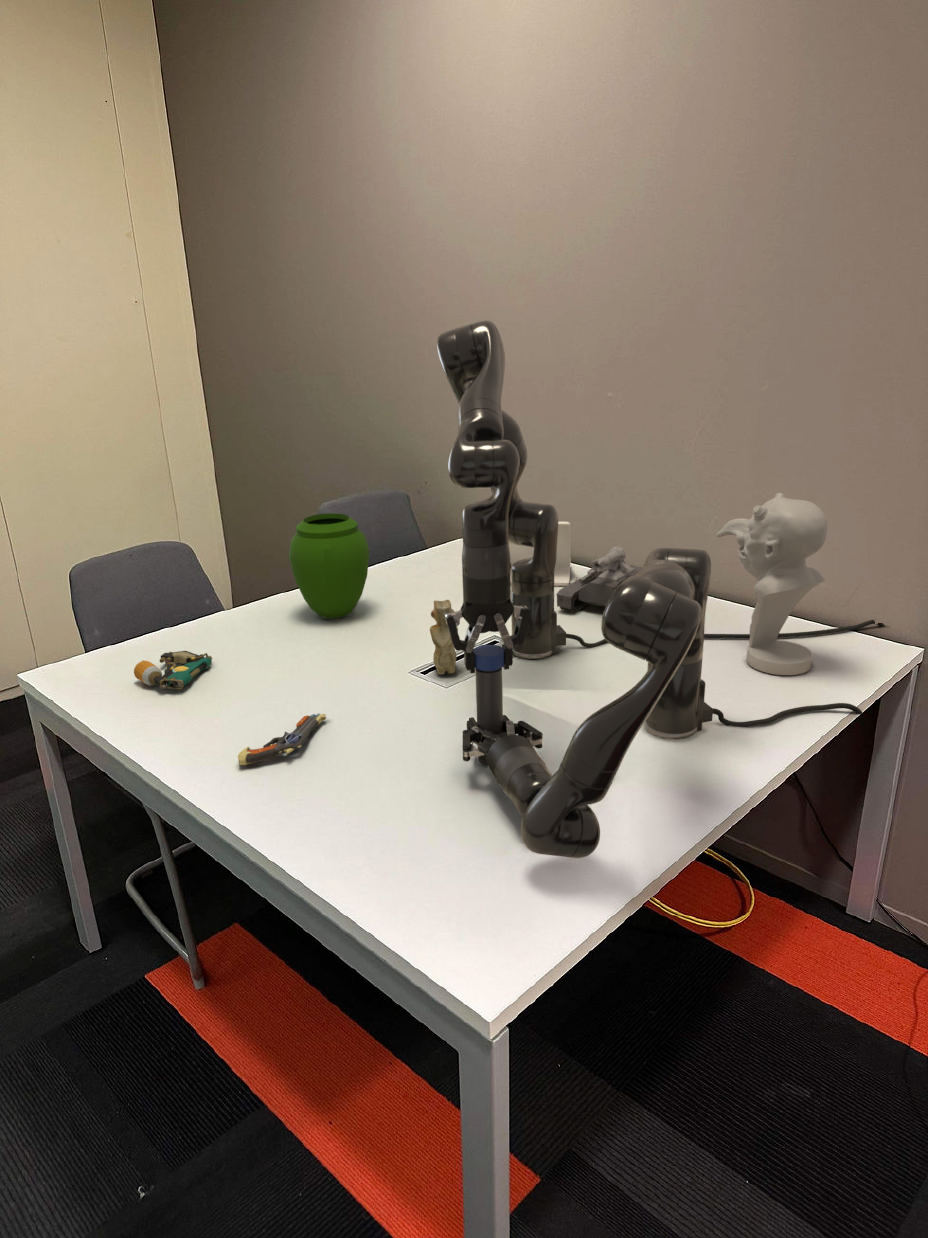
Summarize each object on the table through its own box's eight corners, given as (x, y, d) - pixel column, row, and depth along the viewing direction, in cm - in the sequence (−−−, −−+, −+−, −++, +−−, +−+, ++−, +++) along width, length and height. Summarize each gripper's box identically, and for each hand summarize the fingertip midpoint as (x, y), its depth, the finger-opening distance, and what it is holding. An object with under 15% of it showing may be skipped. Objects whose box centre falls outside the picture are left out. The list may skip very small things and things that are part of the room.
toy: (603, 584, 229) (605, 530, 224) (673, 597, 218) (677, 540, 213) (555, 612, 210) (556, 553, 205) (630, 627, 199) (633, 566, 194)
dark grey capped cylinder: (490, 750, 147) (488, 647, 141) (508, 759, 144) (507, 655, 138) (472, 760, 145) (469, 655, 138) (490, 769, 142) (488, 662, 135)
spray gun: (177, 659, 191) (231, 671, 185) (120, 684, 176) (176, 698, 171) (176, 641, 190) (230, 653, 184) (118, 665, 175) (174, 678, 169)
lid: (507, 659, 140) (507, 646, 139) (499, 672, 135) (499, 658, 134) (478, 657, 141) (477, 643, 140) (469, 669, 137) (468, 655, 136)
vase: (389, 608, 216) (383, 514, 208) (339, 633, 201) (330, 533, 192) (330, 596, 226) (322, 506, 218) (278, 619, 211) (267, 523, 202)
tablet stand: (569, 585, 229) (570, 524, 223) (476, 584, 232) (475, 523, 226) (570, 566, 246) (571, 508, 240) (484, 564, 249) (483, 507, 243)
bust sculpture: (745, 630, 196) (760, 478, 183) (832, 666, 176) (855, 499, 163) (692, 644, 189) (703, 487, 176) (776, 683, 169) (796, 510, 156)
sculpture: (458, 662, 183) (456, 596, 178) (460, 676, 176) (457, 608, 171) (431, 663, 183) (428, 597, 177) (431, 677, 176) (428, 609, 171)
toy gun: (232, 755, 143) (287, 753, 141) (276, 711, 161) (326, 708, 159) (235, 770, 144) (291, 767, 142) (279, 724, 162) (329, 722, 160)
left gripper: (525, 559, 137) (525, 656, 143) (437, 566, 135) (441, 665, 141) (537, 573, 130) (537, 674, 136) (444, 581, 128) (449, 684, 134)
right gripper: (563, 739, 130) (524, 693, 145) (473, 755, 126) (443, 706, 142) (562, 782, 133) (524, 732, 148) (474, 799, 129) (445, 746, 144)
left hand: (488, 669), depth 139 cm, fingers closed on lid, 5 cm apart
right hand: (484, 720), depth 145 cm, fingers closed on dark grey capped cylinder, 4 cm apart
